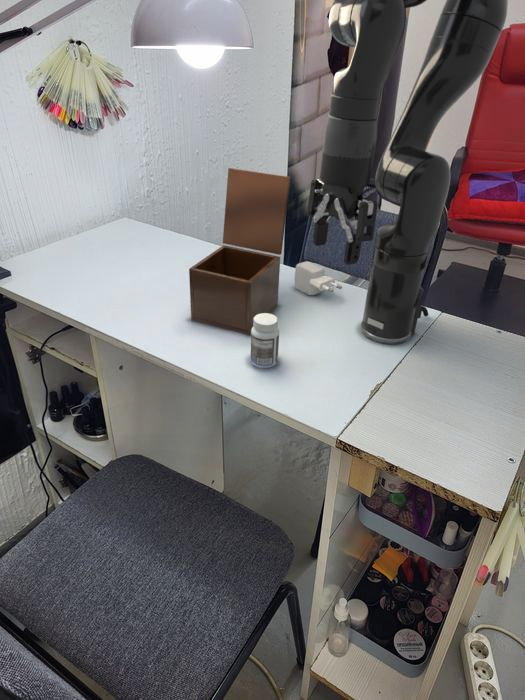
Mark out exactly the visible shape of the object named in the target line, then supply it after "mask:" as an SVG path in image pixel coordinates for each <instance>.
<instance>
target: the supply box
mask: <svg viewBox="0 0 525 700" xmlns="http://www.w3.org/2000/svg"><path fill="white" fill-rule="evenodd" d="M280 270H281V256H279V255H274V254H270V253H269V254H268V253H265V252H260V251H255V250H254V251H253V250H249V249H246V248H241V247H240V248H238V247H236V246H231V245H230V246H229V245H225V244H223V245H221V246H220V247H219V248H217V249H215V250H214V251H213V252H211V253H210V254H208V255H207V256H206V257H204V258H203V259H201V260H200V261H198V262H197V263H195V264H194V265H192V266H191V267H190V268H188V275H189V276H188V279H189V299H190V321H193V322H197V323H200V324H204V325H209V326H213V327H216V328H219V329H224V330H227V331H231V332H235V333H238V334H242V335H246V336H251V329H252V327H253V321H254V317H255V316H256V315H258V314H261V313H269V314H272V313H273V311H275V309H276V308H277V307H278V305H279V288H280V272H281V271H280Z"/></svg>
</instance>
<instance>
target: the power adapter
mask: <svg viewBox="0 0 525 700" xmlns="http://www.w3.org/2000/svg"><path fill="white" fill-rule="evenodd" d="M325 272H326V270H325V268H323V266H320V265H318V264H316V263H313V262H312V261H308V260H307V261H302V262H299V263H297V264H296V265H295V269H294V288H295V289H297V290H299V291H300V292H302V293H304V294H306V295H309V296H314V295H315V296H316V295H318V294H320V293H322V291H325V290H326V291H327V292H330V293H331V294H333V293H334V292H335V290H334V289H333V287H334V288H337V289H339V290H342V289H343V286H342V285H340V284H337V283H336V280H335V279H334V278H333V277H331V276H327V275H326V274H325Z"/></svg>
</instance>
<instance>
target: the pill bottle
mask: <svg viewBox="0 0 525 700" xmlns="http://www.w3.org/2000/svg"><path fill="white" fill-rule="evenodd" d="M278 321H279V319H278V317H277V316H276V315H274V314H272V313H270V314H269V313H261V314H258V315H256V316H255V317H254V321H253V327H252V329H251V334H250V363H251V364H252V365H253V366H255V367H257V368H260V369H269V368H272V367H274V366H275V365H277V363H278V360H279V346H280V329H279V328H278Z"/></svg>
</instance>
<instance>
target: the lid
mask: <svg viewBox="0 0 525 700" xmlns="http://www.w3.org/2000/svg"><path fill="white" fill-rule="evenodd" d="M291 178H292V177H291V176H287V175H280V174H273V173H266V172H260V171H259V172H258V171H254V170H246V169H241V168H240V169H239V168H233V167H228V169H227V180H226V194H225V195H226V196H225V205H224V206H225V208H224V220H223V233H222V234H223V235H222V244H223V245H228V246H229V245H230V246H233V247H240V248H243V249H248V250H249V249H250V250H254V251H258V252H263V253H269V254H272V255H274V254H275V255H277V256H279V255H282V254H283V253H282V252H283V245H284V244H283V243H284V236H285V228H286V227H285V226H286V218H287V211H288V203H289V195H290V188H291V187H290V185H291Z"/></svg>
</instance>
